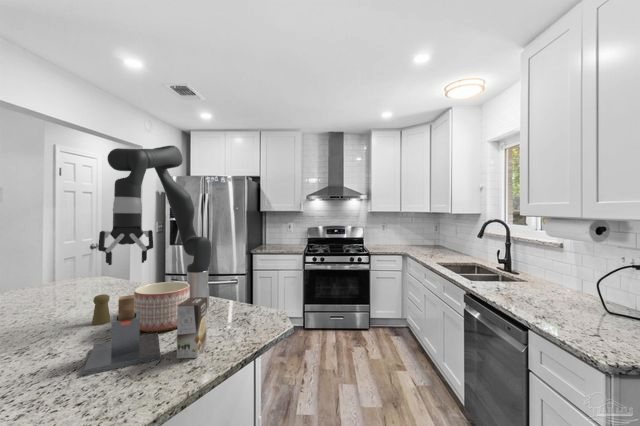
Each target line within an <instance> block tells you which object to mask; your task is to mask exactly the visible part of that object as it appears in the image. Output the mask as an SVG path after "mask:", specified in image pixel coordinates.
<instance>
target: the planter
mask: <svg viewBox="0 0 640 426" xmlns="http://www.w3.org/2000/svg"><path fill="white" fill-rule="evenodd" d="M133 291H134V292H133V295H135V306H134V312H140V332H141V331H142V332H143V333H144V332H145V333H161V332H167V331H170V330H174V329H176V328H177V317H178V305H179V304H181V303H182V302H184V301H185V300H186V299H188V298H189V296H190V285H189V284H188V283H187V282H183V281H164V282H154V283H149V284H144V285H141V286H139V287H137V288H135V289H134V290H133Z"/></svg>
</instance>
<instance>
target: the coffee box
mask: <svg viewBox="0 0 640 426" xmlns="http://www.w3.org/2000/svg"><path fill="white" fill-rule="evenodd" d="M207 332H208V308H207V297H195V298H188V299H186V300H185V301H184V302H182V303H181V304H179V305H178V317H177V329H176V359H196V358H199V356H200V354H201V353H202V352H203V350H204V349H206V348H205V347H206V346H207V339H208V333H207Z"/></svg>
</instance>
